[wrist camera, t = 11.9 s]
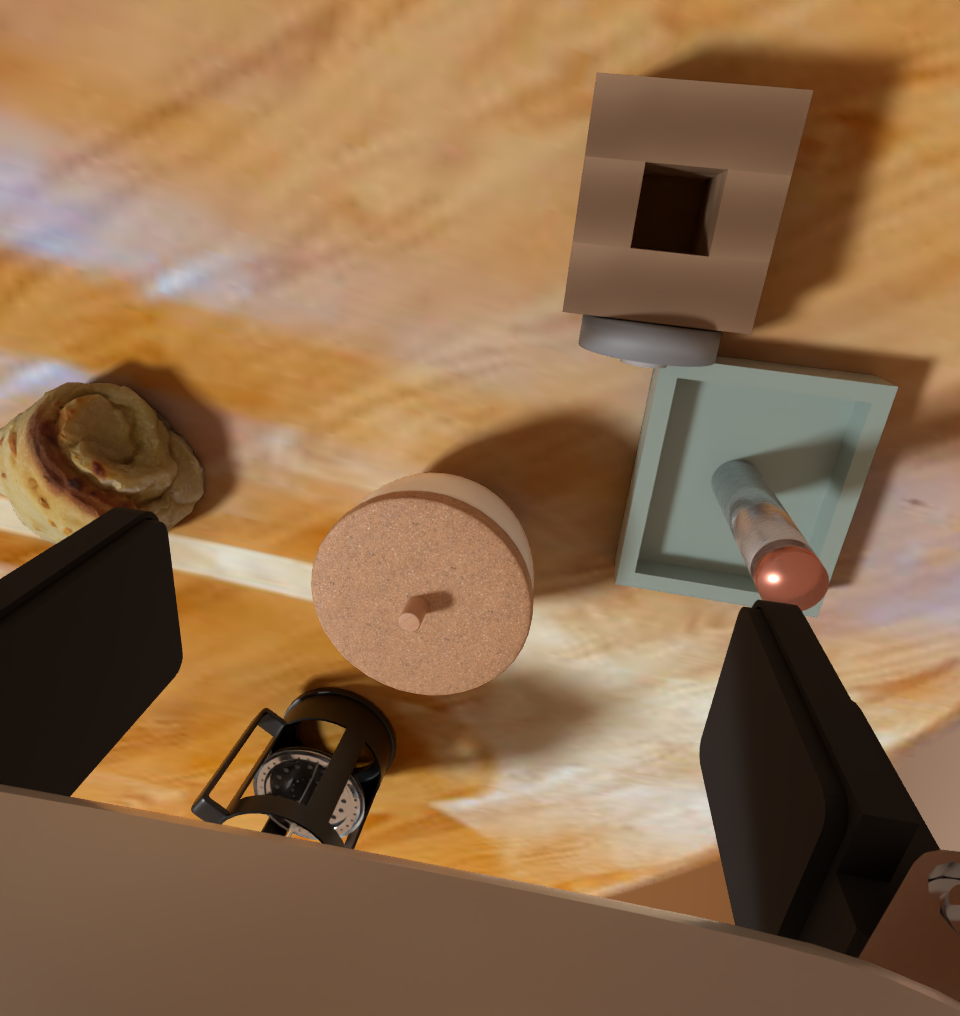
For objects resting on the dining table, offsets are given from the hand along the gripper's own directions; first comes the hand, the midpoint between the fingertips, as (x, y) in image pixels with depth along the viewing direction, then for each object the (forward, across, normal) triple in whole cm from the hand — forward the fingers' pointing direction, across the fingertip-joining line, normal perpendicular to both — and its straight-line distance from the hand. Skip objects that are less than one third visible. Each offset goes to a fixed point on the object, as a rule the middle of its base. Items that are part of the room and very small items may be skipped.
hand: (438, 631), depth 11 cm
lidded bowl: (+31, +4, +14) cm, 34 cm away
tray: (+30, -13, +7) cm, 34 cm away
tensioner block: (+31, -6, -6) cm, 32 cm away
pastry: (+32, +29, +12) cm, 45 cm away
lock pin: (+29, -13, +7) cm, 33 cm away
